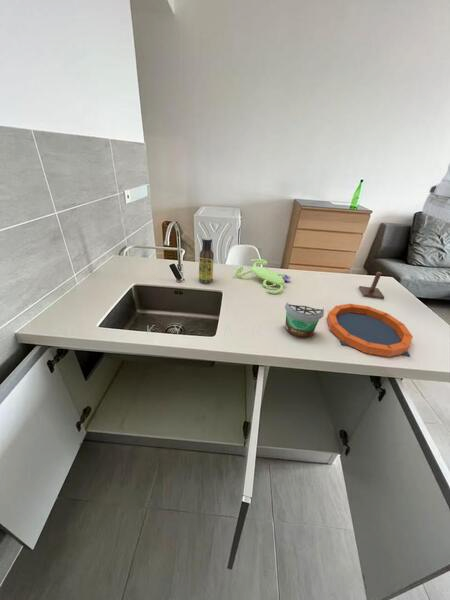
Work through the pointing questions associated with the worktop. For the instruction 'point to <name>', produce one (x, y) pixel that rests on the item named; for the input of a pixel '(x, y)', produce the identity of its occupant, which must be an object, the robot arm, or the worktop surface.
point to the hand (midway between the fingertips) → (432, 231)
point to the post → (372, 289)
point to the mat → (368, 329)
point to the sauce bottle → (206, 261)
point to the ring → (364, 345)
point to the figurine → (266, 275)
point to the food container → (302, 320)
